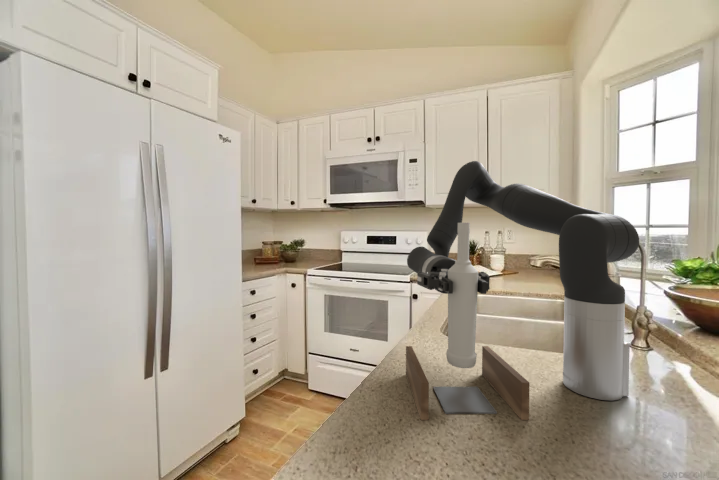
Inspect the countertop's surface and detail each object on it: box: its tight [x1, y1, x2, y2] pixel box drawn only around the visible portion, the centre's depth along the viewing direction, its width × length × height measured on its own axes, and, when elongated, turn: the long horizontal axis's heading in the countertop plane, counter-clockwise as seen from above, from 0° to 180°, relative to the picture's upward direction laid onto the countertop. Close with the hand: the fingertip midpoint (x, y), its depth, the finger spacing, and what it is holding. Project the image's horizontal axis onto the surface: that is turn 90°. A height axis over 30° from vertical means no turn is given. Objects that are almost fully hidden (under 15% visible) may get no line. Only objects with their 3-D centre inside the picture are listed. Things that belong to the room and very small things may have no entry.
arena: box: [405, 345, 530, 421], centre depth 58 cm, size 17×16×6 cm
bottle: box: [445, 222, 479, 369], centre depth 56 cm, size 5×5×25 cm
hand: (467, 287), depth 53 cm, fingers closed on bottle, 5 cm apart
